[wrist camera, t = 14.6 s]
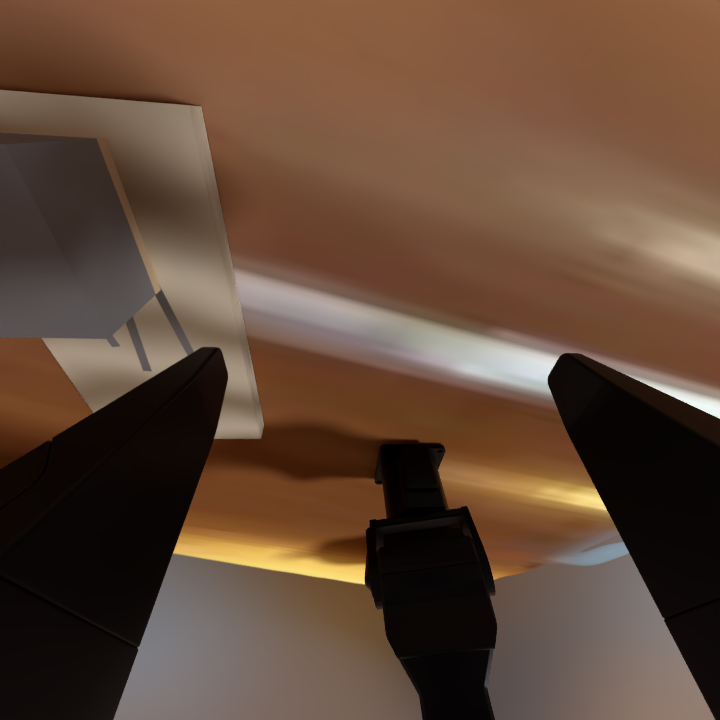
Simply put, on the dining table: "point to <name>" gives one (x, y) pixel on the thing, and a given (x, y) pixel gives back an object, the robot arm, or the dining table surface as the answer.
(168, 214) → the board
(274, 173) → the dining table surface
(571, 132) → the dining table surface
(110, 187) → the block
